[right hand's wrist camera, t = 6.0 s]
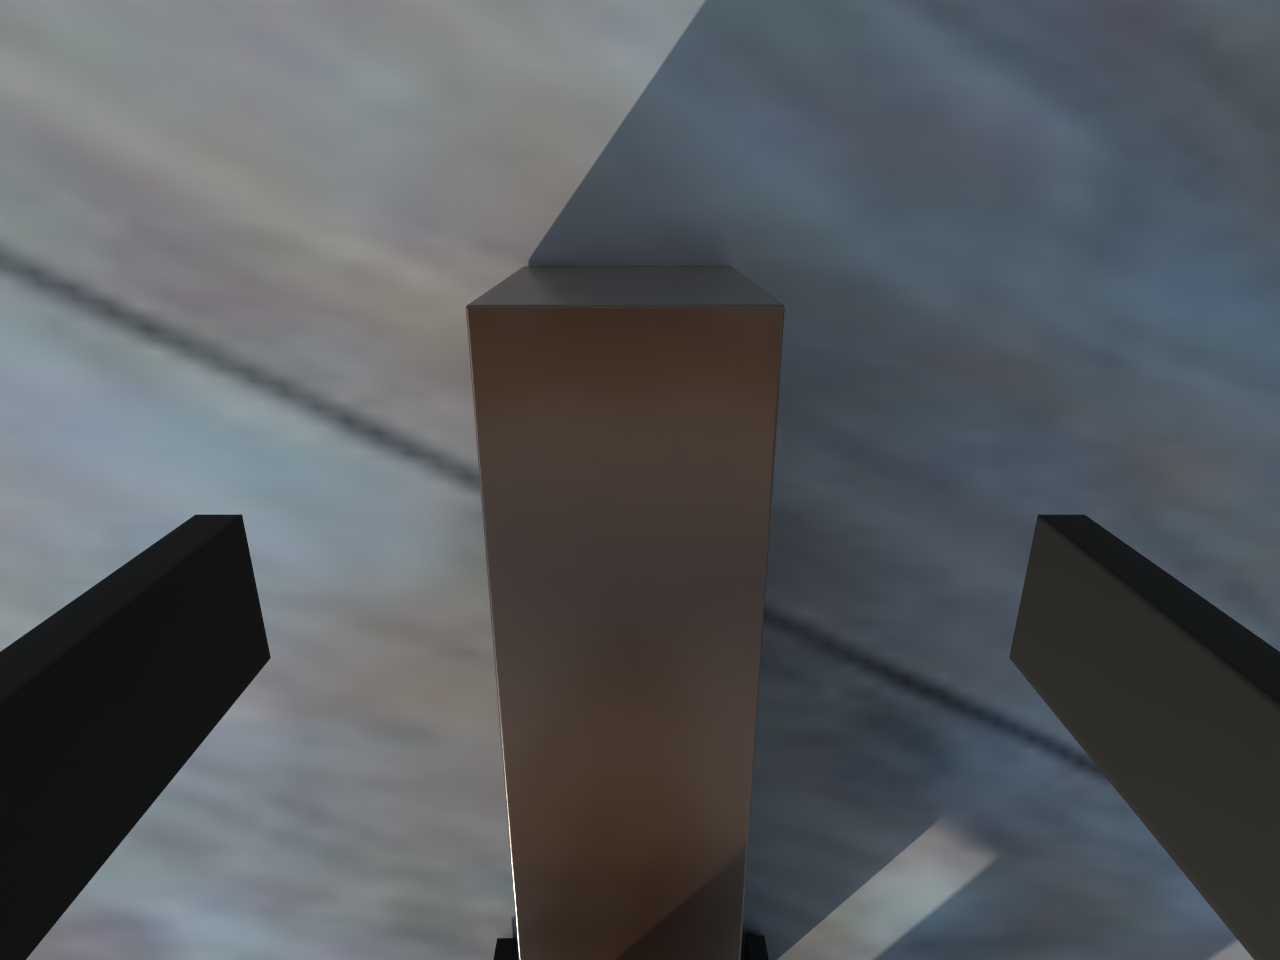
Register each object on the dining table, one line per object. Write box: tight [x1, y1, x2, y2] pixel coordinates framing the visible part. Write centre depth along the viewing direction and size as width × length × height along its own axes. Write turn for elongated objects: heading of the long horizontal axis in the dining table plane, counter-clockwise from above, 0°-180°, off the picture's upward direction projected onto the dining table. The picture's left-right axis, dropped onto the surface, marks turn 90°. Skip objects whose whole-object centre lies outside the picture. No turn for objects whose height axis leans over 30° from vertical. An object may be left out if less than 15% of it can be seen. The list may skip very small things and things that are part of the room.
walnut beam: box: [466, 266, 784, 960], centre depth 23 cm, size 32×6×8 cm, turn 0°
